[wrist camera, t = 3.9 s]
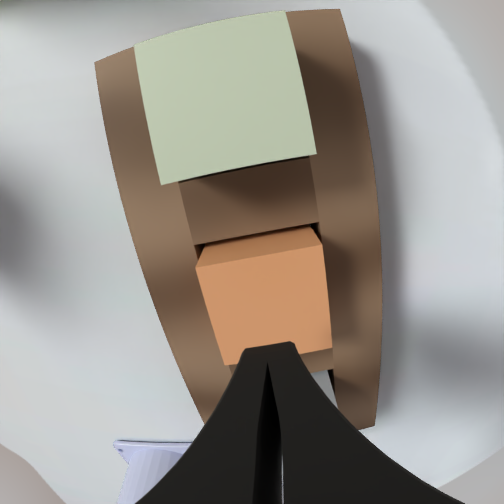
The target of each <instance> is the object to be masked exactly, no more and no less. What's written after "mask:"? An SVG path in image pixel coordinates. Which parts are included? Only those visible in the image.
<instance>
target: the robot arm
mask: <svg viewBox="0 0 504 504" xmlns="http://www.w3.org/2000/svg"><path fill="white" fill-rule="evenodd" d="M113 446H114V448H115V449H116V450H117V451H118V453H119V454H120V455H121V456H122V457H123V459H124V460H125V461H126V462H127V463H128V464H129V465H128V468H127V472H126V475H125V478H124V481H123V485H122V488H121V491H120V494H119V498H118V501H117V504H282V459H283V486H284V504H465V503H463V502H461V501H459V500H456V499H454V498H453V497H450V496H449V495H447V494H445V493H443V492H441V491H439V490H438V489H436V488H434V487H432V486H431V485H429V484H427V483H426V482H424V481H422V480H421V479H419V478H418V477H416V476H415V475H413V474H412V473H411V472H409V471H408V470H406V469H405V468H403V467H402V466H401V465H399V464H398V463H396V462H395V461H394V460H392V459H391V458H389V457H388V456H387V455H386V454H384V453H383V452H382V451H381V450H380V449H378V448H377V447H376V446H375V445H374V444H373V443H371V442H370V441H369V440H368V439H367V438H366V437H365V436H364V435H363V434H362V433H360V432H359V431H358V430H357V429H356V428H355V427H354V426H353V425H352V424H351V423H350V422H349V421H348V420H347V418H346V417H345V416H344V415H343V414H342V413H341V412H340V411H339V410H338V409H337V407H336V406H335V405H334V404H333V403H332V402H331V400H330V399H329V398H328V397H327V395H326V394H325V393H324V392H323V390H322V389H321V388H320V386H319V385H318V383H317V382H316V381H315V379H314V378H313V377H312V375H311V374H310V372H309V371H308V369H307V367H306V366H305V364H304V362H303V361H302V359H301V357H300V355H299V353H298V351H297V348H296V346H295V343H293V342H291V341H287V342H282V343H276V344H270V345H264V346H257V347H251V348H245V349H244V351H243V352H242V354H241V357H240V359H239V362H238V364H237V366H236V369H235V371H234V373H233V375H232V377H231V379H230V381H229V384H228V385H227V387H226V389H225V391H224V393H223V395H222V397H221V399H220V400H219V402H218V404H217V406H216V407H215V409H214V411H213V412H212V414H211V416H210V417H209V419H208V420H207V422H206V423H205V425H204V426H203V428H202V430H201V431H200V433H199V434H198V435H197V437H196V438H195V440H194V441H193V442H192V443H146V442H128V441H114V443H113Z"/></svg>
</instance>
